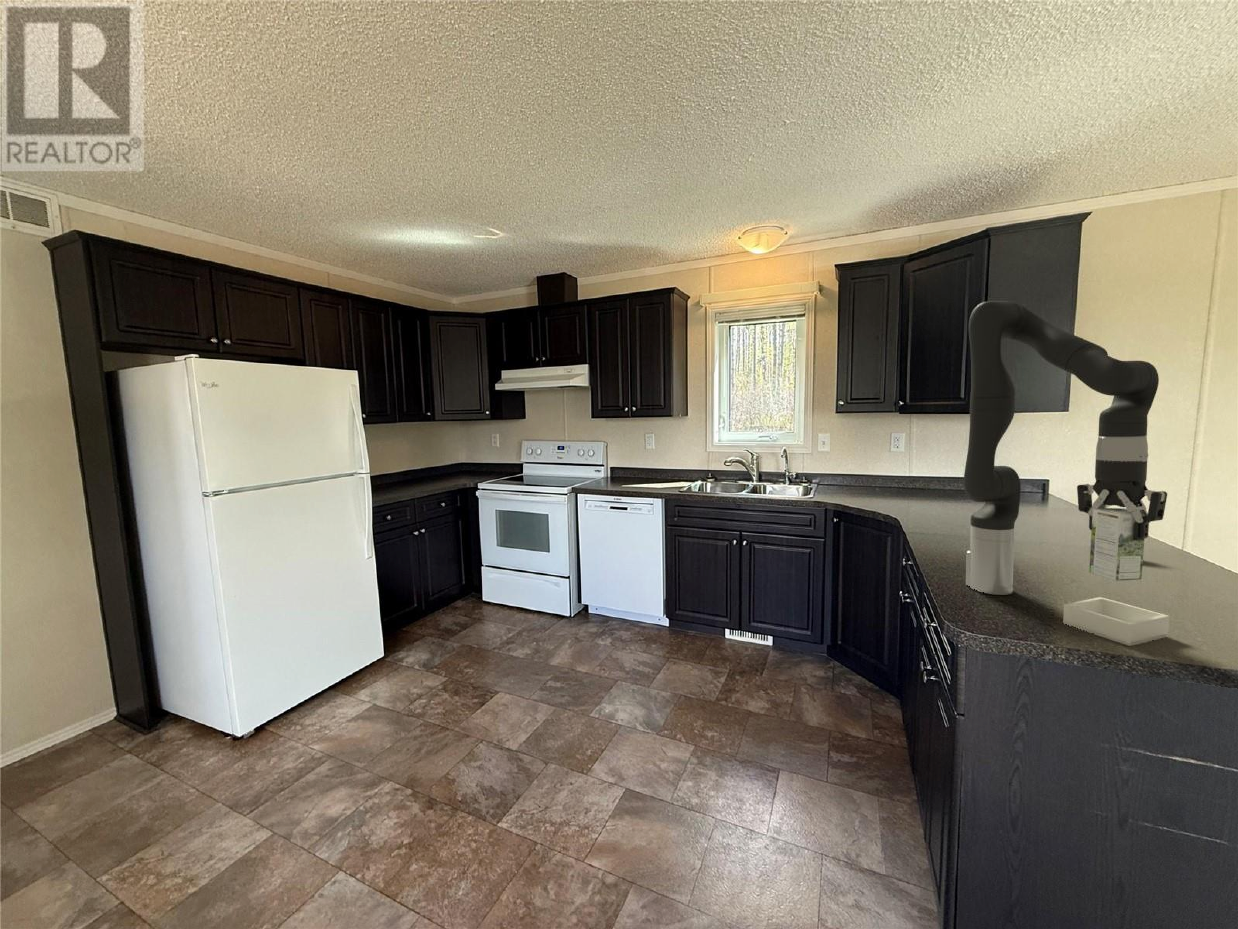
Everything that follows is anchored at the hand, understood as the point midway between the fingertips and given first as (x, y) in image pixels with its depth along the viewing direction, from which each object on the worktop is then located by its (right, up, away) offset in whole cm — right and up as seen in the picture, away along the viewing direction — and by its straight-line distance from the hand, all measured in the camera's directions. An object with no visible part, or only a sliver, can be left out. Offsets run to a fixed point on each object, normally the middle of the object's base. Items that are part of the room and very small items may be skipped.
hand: (1117, 536), depth 103 cm
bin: (+1, -20, +2) cm, 20 cm away
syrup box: (0, -9, +1) cm, 9 cm away
